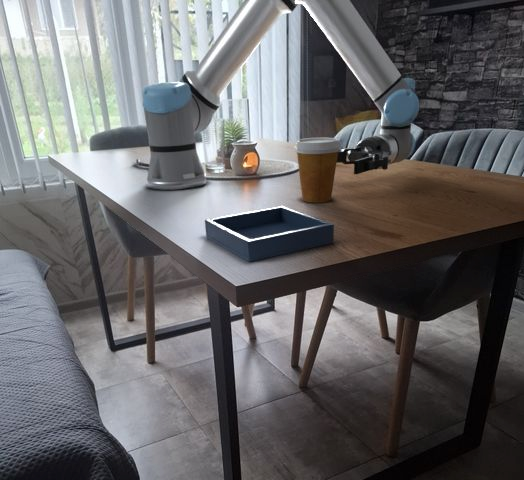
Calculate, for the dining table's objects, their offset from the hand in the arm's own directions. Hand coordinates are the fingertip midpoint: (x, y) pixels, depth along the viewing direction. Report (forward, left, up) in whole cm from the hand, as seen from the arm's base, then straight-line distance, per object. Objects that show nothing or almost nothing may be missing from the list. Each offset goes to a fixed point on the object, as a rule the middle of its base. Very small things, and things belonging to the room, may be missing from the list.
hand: (328, 165), depth 105 cm
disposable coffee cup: (+2, -4, -7) cm, 8 cm away
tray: (+27, -22, -7) cm, 35 cm away
